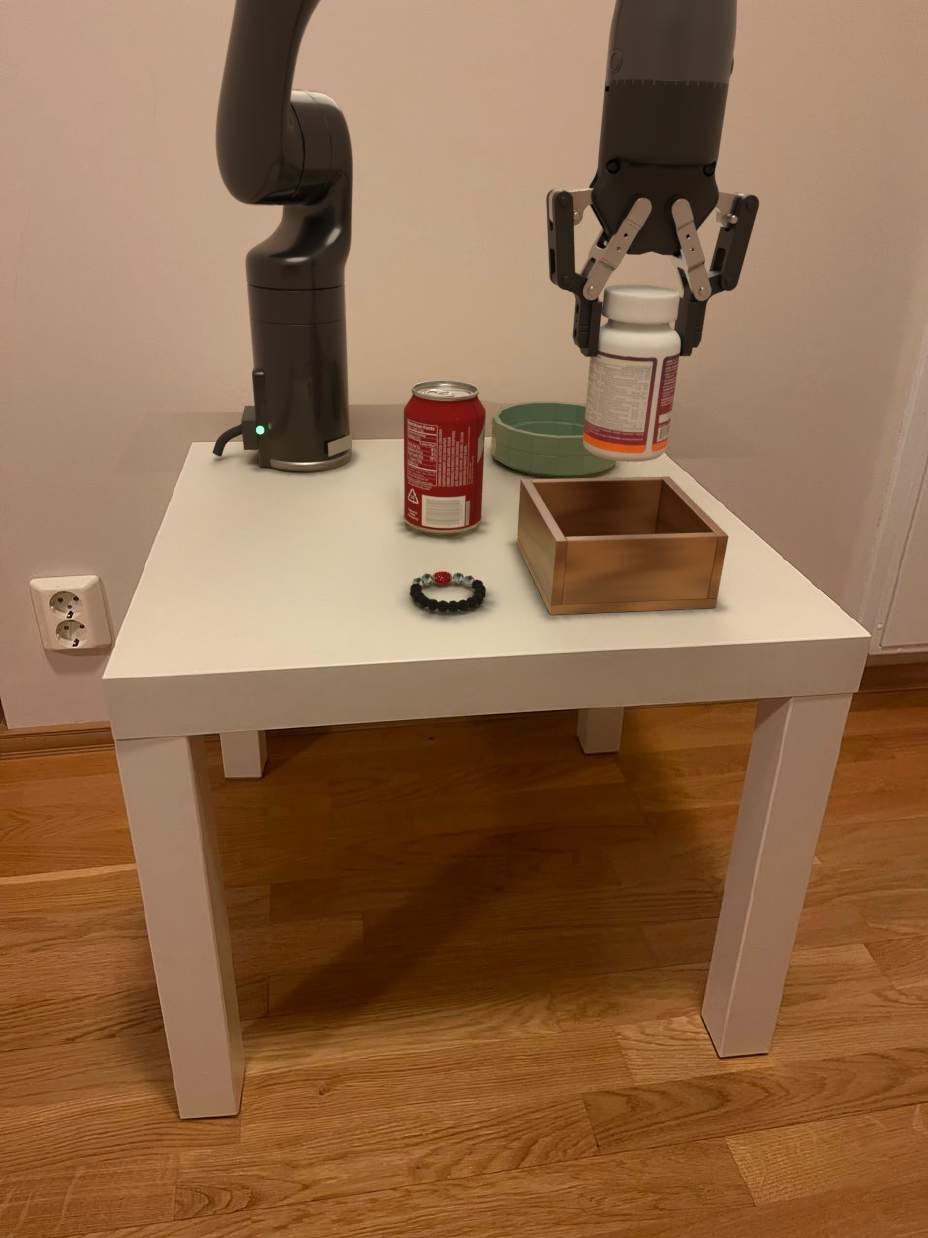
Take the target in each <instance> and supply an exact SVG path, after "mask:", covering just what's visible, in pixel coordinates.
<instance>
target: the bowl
mask: <svg viewBox="0 0 928 1238" xmlns="http://www.w3.org/2000/svg"><path fill="white" fill-rule="evenodd" d="M585 411H586V404H583V403H576V402H568V401H567V402H566V401H555V400H549V401H547V400H546V401H544V400H543V401H542V400H540V401H538V400H537V401H536V400H535V401H526V402H518V403H511V404H508V405H505V406H502V407H500V408H498V409H497V410H495V412H494V413H493V414H492V418H491V442H490V443H491V444H490V452H491V454H492V456H493V458H494V460H495V461H498V462H499V463H501V464H503V465H505V466H506V467H508V468H509V469H512V470H514V471H517V472H520V473H523V474H526V475H531V476H536V477H543V478H551V479H569V478H584V477H588V476H592V475H596V474H599V473H601V472H604V471H606V470H608V469H610V468H612V467H614V466H615V465H616V464H617V461H615V460H609V459H604V458H601V457H598V456H596V455H594V454H592V453H590V452H589V451H588V450H587V449H586V448H585V446H584V444H583V433H584V422H585Z"/></svg>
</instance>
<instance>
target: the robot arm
mask: <svg viewBox="0 0 928 1238" xmlns="http://www.w3.org/2000/svg"><path fill="white" fill-rule="evenodd" d="M320 2H321V0H235V3H234V8H233V16H232V20H231V27H230V33H229V37H228V45H227V50H226V55H225V60H224V67H223V73H222V78H221V84H220V89H219V96H218V104H217V110H216V118H215V119H216V120H215V154H216V161H217V167H218V171H219V176H220V178H221V180H222V183H223V185H224V187H225V188H226V190H227V191H228V193H229V194H230V196H232V198H234V199H235V200H236V201H237V202H239V203H242V204H244V205H247V206H255V207H277V206H282V211H281V212H282V213H281V218H280V222H279V224H278V225H277V226H276V228H275V230H274V231H273V232H272V233H271V234H269V236H268V237H266V238H265V239H264V240H262V241H261V242H259V243H257V244H256V245H255V246H253V247H252V248H250V249H249V250H248V251H247V253H246V256H245V262H244V264H245V277H246V288H247V292H246V293H247V302H248V303H247V304H248V314H249V327H250V339H251V351H252V364H253V365H252V371H251V381H252V393H253V404H254V405H245V406H244V408H243V411H242V416H241V420H240V422H241V423H240V424H238V425H235V426H233V427H231V428H229V429H227V430H226V431H224V432H223V433H221V435H219V437H218V438H217V439H216V441H215V442H214V446H213V449H212V454H213V455H215V456H216V457H222V456H223V453H224V450H225V447H226V445H227V444H228V443H229V442H230V441H231V440H233V439H235V438H237V437H239V436H241V435H242V446H243V447H242V448H243V451H257V453H258V466H259V467H260V468H274V469H279V470H284V471H293V472H313V471H314V472H315V471H323V470H329V469H332V468H337V467H339V466H342V465H344V464H346V463H347V462H348V461H350V460H351V458H352V449H353V434H351V433H350V432H351V430H350V427H351V426H350V398H349V369H348V368H349V365H348V336H347V335H348V334H347V309H346V308H347V307H346V305H347V304H346V302H347V301H346V265H347V263H348V259H349V256H350V253H351V248H352V241H353V240H352V237H353V190H354V189H353V186H354V182H353V181H354V158H353V157H354V155H353V146H352V145H353V144H352V138H351V132H350V128H349V125H348V122H347V119H346V116H345V115H344V112H343V110H342V109H341V106H340V105H339V104H338V103H337V101H336V100H334V98H333V97H331V96H329V95H328V94H326V93H325V92H321V91H317V90H311V89H310V90H309V89H300V88H299V89H298V88H293V84H294V79H295V72H296V68H297V67H296V66H297V62H298V57H299V52H300V49H301V44H302V41H303V38H304V35H305V32H306V29H307V27H308V26H309V24H310V20H311V19H312V17H313V14H314V13H315V11H316V9H317V8H318V6H319V4H320ZM737 21H738V0H615V3H614V8H613V14H612V17H611V23H610V29H609V35H608V44H607V45H608V46H607V54H606V55H607V57H606V66H605V76H604V77H605V80H604V89H603V91H604V92H603V99H602V100H603V102H602V111H601V124H600V134H599V144H598V156H597V168H596V172H595V175H594V176H593V179H592V180H591V182H590V184H589V187H584V188H575V189H566V190H565V189H563V188H552V189H550V190H549V191H548V193H546V199H545V202H546V226H547V227H546V229H547V250H548V251H547V253H548V254H547V255H548V274H549V275H548V276H549V277H548V278H549V280H550V282H551V283H552V284H553V285H555V286H557V287H558V288H559V289H561V290H563V291H567V292H570V293H571V294H573V296H574V302H575V303H574V314H573V325H572V339H573V343H574V345H575V346H576V347H578V349H579V351H580V353H581V354H582V355H583V356H584V357H585V358H590V357H596V356H597V353H598V344H599V333H600V326H601V323H602V306H603V300H600V299H599V298H600V295H601V294H602V291H604V290H603V289H605V286H606V284H607V282H608V281H609V279H610V278H611V276H612V274H613V273H614V271H616V270H617V269H618V268H619V266H620V265H621V263H622V261H623V259H624V257H625V255H628V256H629V255H631V256H636V255H637V256H640V255H644V254H648V253H655V254H659V255H661V256H668V257H669V259H670V262H671V264H672V266H673V267H674V269H675V273H676V275H677V279H678V281H679V285H680V288H681V290H682V293H683V294H682V296H680V298H679V306H678V315H677V320H675V321H674V327H673V329H674V330H675V331H676V332H677V334H678V335H679V337H680V341H681V347H680V355H679V357H691V356H692V354H693V349H695V348H698V347H699V345H700V343H701V341H702V337H703V330H704V323H705V317H706V311H707V305H708V302H709V300H710V299H711V298H712V297H713V296H714V295H717V294H720V293H722V292H724V291H725V292H731V291H734V290H735V289H736V288H737V286H738V284H739V280H740V277H741V273H742V270H743V266H744V262H745V259H746V255H747V251H748V248H749V245H750V241H751V236H752V233H753V229H754V225H755V222H756V218H757V215H758V211H759V208H760V199H759V198H758V196H756V195H755V194H750V193H749V194H748V193H745V192H744V193H743V192H733V193H728V192H722V191H719V187H718V184H717V181H716V168H717V165H718V160H719V157H720V156H719V155H720V147H721V142H722V135H723V128H724V120H725V114H726V107H727V102H728V101H727V100H728V94H729V86H730V79H731V76H732V74H733V70H734V66H735V65H734V64H735V58H734V51H735V46H736V36H737V23H738V22H737ZM588 206H589V207H590V208H591V210H592V212H593V214H594V215H595V217H596V219H597V221H598V223H599V225H600V227H601V230H599V233H598V234H597V236H596V238H595V240H594V242H593V243H592V245H591V247H590V248H589V251H588V253H587V255H588V256H587V258H586V261H585V262H584V265H583V266H582V268H581V269H580V272H579V273H578V272H576V252H575V249H576V247H575V226H578V225H579V224H580V223H581V222H582V221H583V217H584V212H585V210H586V209H587V207H588ZM714 210H715V213H716V214H715V222H716V225H718V226H719V232H718V234H717V238H716V243H715V247H714V251H713V253H712V258H711V261H710V265H709V270H708V272H707V269H706V266H705V263H706V259H705V253H704V252H703V248H702V245H701V242H700V238H699V235H698V232H697V231H698V230H699V229H700V228H701V226H702V225H703V224H704V222H705V221H706V220H707V218H708V217H709V216H710V215H711V214H712V213H713V211H714Z"/></svg>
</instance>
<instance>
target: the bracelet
mask: <svg viewBox="0 0 928 1238" xmlns="http://www.w3.org/2000/svg"><path fill="white" fill-rule="evenodd" d="M452 581H453V582H454V583H455V584H457V585H459V584H464V585H465V586H466V587H471V588H472V589H473V595H472V596H468V597H467V598H466V599H460V600H459V601H456V600H450V601H447V600H444V599H442V600H437V599H435V598H429V596H428V597H427V596H426V594H425V593H424V592H422V591H423V585H426V586H430V585H431V584H432V583H434V584H437V585H442V586H443V585H448V584H450V583H452ZM486 593H487V588H486V586H485V585H484V583H483V581H482V580H480V579H475V577H473V575H471V574H470V575H465V576H464V573H461V572H458V571H457V572H456V573H454V574H453V575H452V573H451V572H449V571H442V570H441V571H437V572H434V573H432V574H431V573H424V574H423V575H422V576H421V577H416V578H413V579H412V584H411V585H410V591H409V595H410V597H411V598H412V599H413V601H414V602H415V603H416V604H418V605H419V607H420V608H422V609H426V608H427V610H429V611H431V612H434V611H436V610H438V612H440V613H446V612H450V613H458V611H460V612H467V610H468V609H470V610H473V609H476V608H477V607H478V606H481V605H482V604H483V602H484V598H485V597H486Z"/></svg>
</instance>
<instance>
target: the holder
mask: <svg viewBox="0 0 928 1238" xmlns="http://www.w3.org/2000/svg"><path fill="white" fill-rule="evenodd" d="M519 483H520V485H519V497H518V498H519V499H518V514H517V532H516V536H517V537H516V546H517V548H518V550H519V552H520V554H521V557H522V558H523V561H524V563H525V565H526V567H527V569H528V571H529V573H530V575H531V578H532V579H533V581H534V583H535V586H536V588H537V590H538V592H539V594H540V596H541V599H542V600H543V603H544V605H545V607H546V609H547V611H548V613H549V615H551V616H552V615H553V616H556V615H578V614H580V615H581V614H598V613H623V612H626V613H627V612H646V611H647V612H648V611H671V610H693V609H696V610H697V609H715V608H716V607H717V602H718V597H719V592H720V586H721V580H722V575H723V574H722V573H723V570H724V565H725V558H726V554H727V553H726V552H727V547H728V543H729V535H728V533H726V532H725V531H724V529H722V528H721V526H720V525H718V524H717V522H715V521H714V520H713V519H712V518H711V516H709V515H708V514H707V513H706V512H705V510H703V509H702V508H701V507H700V506H699V504H697V502H695V501H694V500H693V499H692V498H691V497H690V496H689V494H687V493H686V492H685V491H684V490H683V489H682V488H681V487H680V485H678V484H677V483H676V481H674V480H673V479H672V478H671V476H667V475H666V476H663V475H662V476H626V477H625V476H623V477H622V476H619V477H574V478H531V479H530V478H523V479H522V478H521V479H520V482H519Z"/></svg>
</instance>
